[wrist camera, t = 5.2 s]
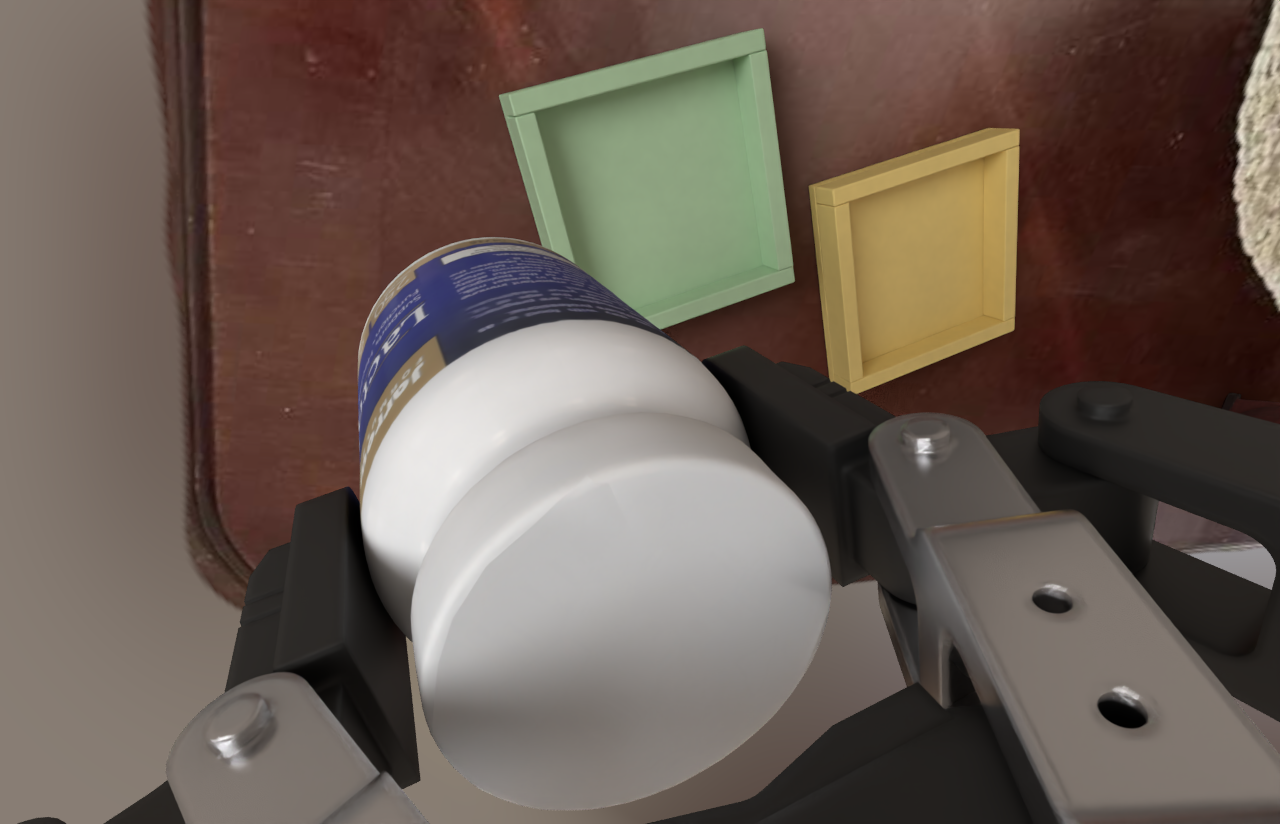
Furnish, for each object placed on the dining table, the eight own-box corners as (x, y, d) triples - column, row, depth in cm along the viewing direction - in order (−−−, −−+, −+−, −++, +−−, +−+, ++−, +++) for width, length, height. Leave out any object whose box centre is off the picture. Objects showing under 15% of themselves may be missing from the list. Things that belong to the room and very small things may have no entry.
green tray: (498, 95, 27) (507, 93, 25) (740, 32, 30) (764, 27, 28) (570, 344, 32) (582, 357, 30) (773, 273, 34) (795, 282, 33)
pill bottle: (338, 236, 14) (320, 445, 5) (612, 228, 16) (919, 374, 7) (373, 490, 16) (400, 922, 8) (609, 457, 18) (841, 773, 10)
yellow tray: (808, 185, 33) (832, 189, 31) (988, 127, 36) (1020, 128, 34) (829, 383, 38) (852, 396, 36) (986, 321, 40) (1015, 330, 39)
